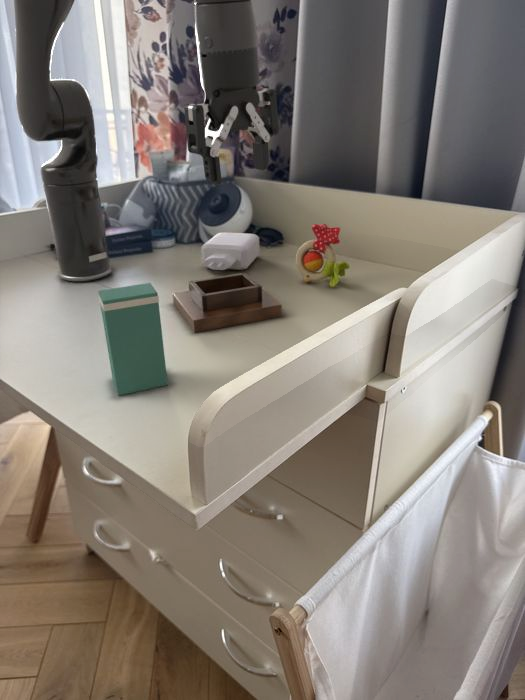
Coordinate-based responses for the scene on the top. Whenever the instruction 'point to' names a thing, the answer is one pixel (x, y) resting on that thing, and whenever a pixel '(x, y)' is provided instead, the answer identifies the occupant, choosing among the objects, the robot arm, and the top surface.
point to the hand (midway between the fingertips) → (238, 176)
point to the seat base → (225, 302)
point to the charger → (230, 251)
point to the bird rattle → (314, 260)
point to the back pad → (134, 337)
